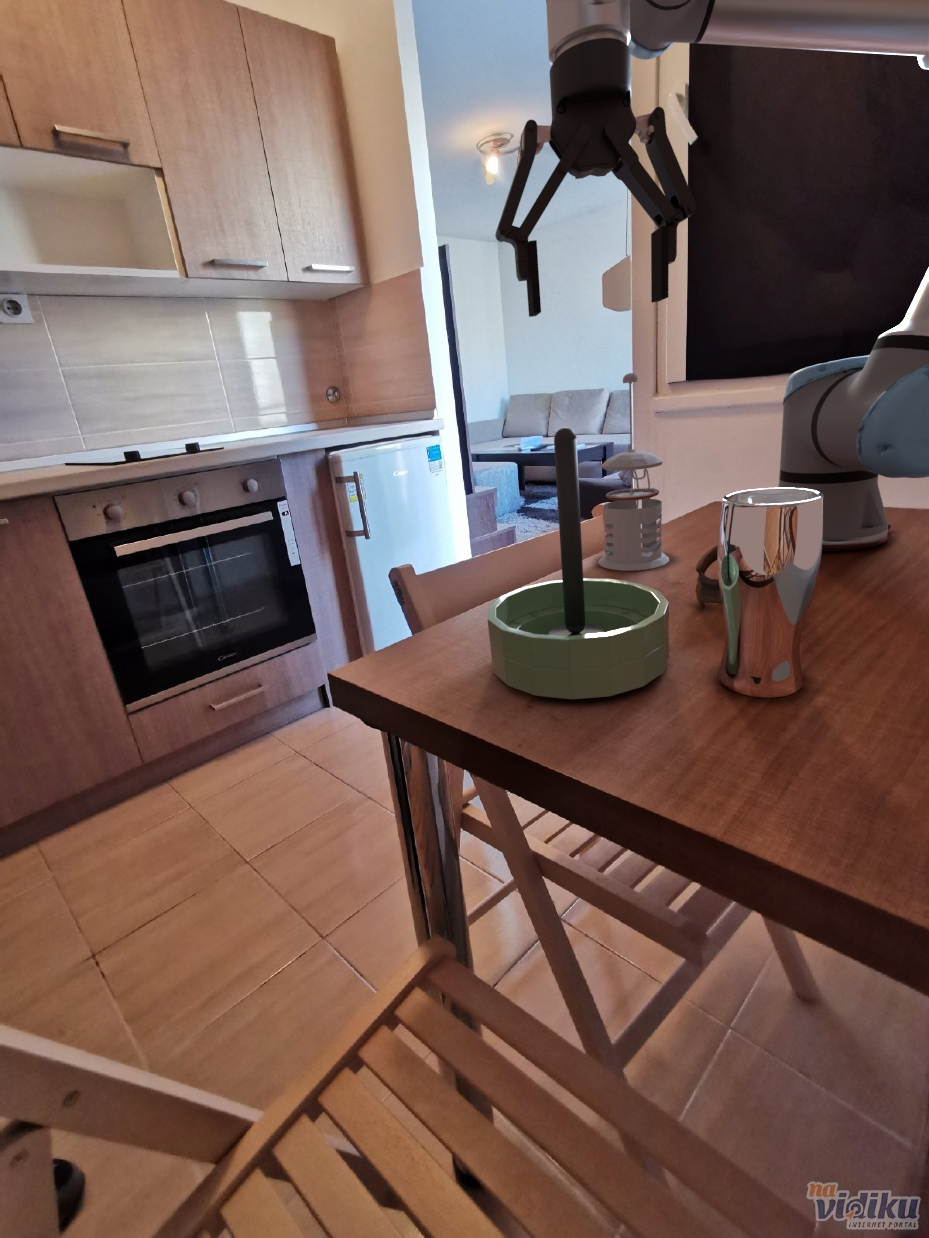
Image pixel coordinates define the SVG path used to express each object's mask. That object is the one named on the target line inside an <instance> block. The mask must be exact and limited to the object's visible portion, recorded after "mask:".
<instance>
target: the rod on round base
mask: <svg viewBox="0 0 929 1238" xmlns="http://www.w3.org/2000/svg"><path fill="white" fill-rule="evenodd" d="M577 438H578V437H577V434H576V432H575V431H574V430H573V429H572V428H570V427H561V428H560V429H558V430H557V431H556V432H555V433H554V437H553V447H554V463H555V479H556V496H557V497H556V498H557V512H558V513H557V514H558V530H559V545H560V547H559V549H560V563H561V578H562V579H561V580H562V581H563V598H564V614H565V625H561V626H558V627H555V628H553V629H552V630H551V631H550V632H549V633H548V635H558V636H574V635H585V634H596V633H604V631H603V629H602V628H600V627H598V626H596V625H592V624H586V623H585V604H584V583H583V578H584V566H583V565H584V563H583V545H582V525H581V524H582V523H581V505H580V504H581V503H580V502H581V501H580V500H581V499H580V480H579V459H578V458H579V457H578V439H577Z"/></svg>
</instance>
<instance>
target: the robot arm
mask: <svg viewBox="0 0 929 1238" xmlns="http://www.w3.org/2000/svg"><path fill="white" fill-rule="evenodd" d="M545 2H546V5H545V6H546V27H547V47H548V48H547V49H548V52H547V53H548V61H549V63H550V65H551V66H550V69H549V88H550V104H551V105H550V107H551V123H550V125H541V124H540V125H539V124H538V123H537V121H535V119H532V118H531V119H528V120H527V121H526V122H525V124H524V127H523V129H522V132H521V134H520V141H519V143H520V144H519V145H520V146H519V147H520V148H519V153H520V154H519V160H518V163H517V167H516V170H515V173H514V175H513V179H512V181H511V185H510V188H509V191H508V194H507V197H506V199H505V203H504V207H503V210H502V212H501V215H500V219H499V222H498V225H497V228H496V231H495V234H494V235H495V239H496V241H498V242H500V243H503V242H504V243H507V244H510V245H511V246H512V247H513V249H514V262H515V274H516V278H517V280H518V281H517V282H525V281H526V293H527V306H528V307H527V308H528V309H527V310H528V317H529V318H531V317H532V318H533V317H537V316H538V315H539V314H541V313H542V305H541V304H542V303H541V290H540V289H541V287H540V286H541V285H540V274H539V273H540V272H539V257H538V256H539V255H538V240H536V239H533V240H529V238H530V236H531V234H532V232H533V230H534V228H535V227H536V226H537V224H538V223H539V221H540V219H541V217H542V215H543V214H544V212H545V210H546V209H547V207H548V206H549V204H550V202H551V201H552V199H553V197H554V196H555V194H556V193H557V191H558V189H559V188H560V185H561V184H562V182H563V181H564V179H565V177H566V176H567V175H568V174H569V175H570V176H572V177H574V179H575V180H581V179H584V178H586V177H589V176H592V177H606V175H608V174H609V173H610V172H611V173H612V174H613V176H614V177H615V178H616V179H617V180H619V181H621V182H622V183H623V184H624V186H625V187H626V188H627V189H628V191H629V192H630V193H631V195H632V196H633V197H634V198H635V200H636V201H637V202H638V204H639V205H640V207H641V208H642V209H643V210H644V211H645V213H646V214H647V215H648V217H649V218H650V219H651V221H652V222H653V223H654V224H655V226H656V227H657V229H655V230H654V231H653V232H651V233H650V242H651V243H650V248H651V249H650V273H651V274H650V278H651V279H650V280H651V282H650V283H651V288H650V289H651V290H650V291H651V293H650V294H651V295H650V297H651V299H650V300H651V303H658V302H662V301H663V300H666V299H668V298H669V273H670V272H669V267H670V266H669V265H671V264H672V263H675V261H676V259H677V256H678V227H679V225H680V223H682V222H684V221H686V220H687V219H688V218H690V217H691V216H693V215H694V214H695V213H696V211H697V204H696V201H695V199H694V196H693V193H692V192H691V190H690V187H689V185H688V182H687V179H686V177H685V175H684V173H683V170H682V168H681V165H680V163H679V160H678V158H677V155H676V153H675V151H674V148H673V146H672V144H671V141H670V139H669V136H668V134H667V133H668V132H667V123H666V112H665V110H664V108H663V107H661V106H656V107H655V108H654V109H653V110H652V112H650V113H646V114H643V115H639V116H635V114H634V112H633V108H632V56H633V57H634V58H636V59H638V60H646V61H647V60H652V59H654V58H657V57H659V56H661V55H662V54H664V53H665V52H666V51H667V50H668V49H669V48H670V47H671V46H672V45H674V44H705V45H707V44H708V45H720V46H721V45H723V46H738V47H739V46H742V47H755V48H756V47H758V48H772V49H789V50H790V49H793V50H809V51H825V52H827V51H828V52H842V53H858V54H859V53H860V54H876V55H877V54H878V55H895V56H896V55H897V56H911V57H912V56H913V57H917V61H918V65H919V66H920V69H923V70H928V71H929V0H546V1H545ZM634 134H635V135H637V137H638V138H639V142H640V143H641V144H644V146H645V147H644V148H645V150H646V154H647V156H648V159H649V161H650V163H651V166H652V168H653V171H654V173H655V175H656V178H657V180H658V183H659V184H660V187H661V188H660V187H659V185H658V183H656V181H655V180H654V179H653V178H652V176H651V175H650V174H649V172H648V171H647V169H646V168H645V167H644V166H643V164H642V163H641V162H640V157H639V155H638V152H636V150H635V149H634V148H633V146H632V145H631V144H630V141H632V138H633V136H634ZM546 143H548V145H549V146H550V148H551V150H552V151H553V152H554V154H555V155H556V157H557V158H558V160H559V161H558V163H557V165H556V166H555V168H554V170H553V171H552V173H551V175H550V176H549V178H548V179H547V181H546V183H545V184H544V186H543V188H542V189H541V191H540V193H539V194H538V196H537V198H536V199H535V201H534V203H533V204H532V206H531V207H530V209H529V210H528V212H527V214H526V216H525V218H524V219H523V221H522V223H521V224H520V226H516V225H513V224H514V221H515V218H516V216H517V212H518V210H519V206H520V203H521V200H522V197H523V194H524V191H525V188H526V186H527V182H528V179H529V176H530V173H531V170H532V167H533V165H534V161H535V157H536V155H539V154H540V153H541V152H542V150H543V148H544V144H546ZM661 189H662V190H661ZM782 399H783V400H782V406H783V408H782V409H783V411H782V427H781V443H780V461H779V478H778V485H777V488H801V489H810V490H816V491H819V492H821V493H823V495H824V497H823V541H822V552H842V551H843V552H845V551H853V550H855V551H856V550H862V549H868V548H873V547H876V546H879V545H881V544H883V543H886V541H887V539H888V532H889V530H890V529H891V528H892V525H891V524H889V523H888V519H887V514H886V511H885V510H886V509H885V507H884V503H883V499H882V494H881V491H880V488H879V476H882V477H885V478H888V479H889V478H890V479H900V478H906V479H922V478H929V267H928V268H927V270H926V272H925V274H924V277H923V279H922V280H921V282H920V285H919V287H918V289H917V291H916V293H915V294H914V297H913V299H912V301H911V303H910V306H909V308H908V309H907V311H906V313H905V317H904V318H903V320H902V321H901V322H900V323H899V324H898V325H896V326H895V327H893V328H891V329H889V330H887V331H885V332H883V333H882V334H880V335H879V336H878V337H877V339H876V341H875V343H874V345H873V347H872V348H871V352H870V354H868V355H862V356H853V357H848V358H842V359H837V360H831V361H828V362H823V363H818V364H817V363H816V364H814V365H810V366H806V367H804V368H801V369H798V370H796V371H794V372H793V373H792V374H790V376H789V377H788V378H787V381H786V384H785V391H784V397H783V398H782Z"/></svg>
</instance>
